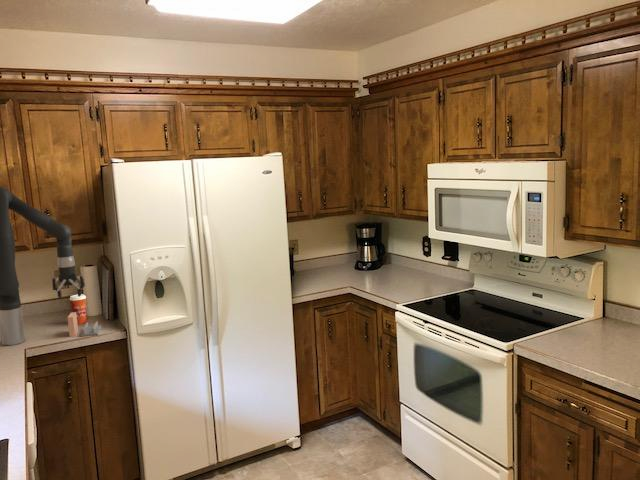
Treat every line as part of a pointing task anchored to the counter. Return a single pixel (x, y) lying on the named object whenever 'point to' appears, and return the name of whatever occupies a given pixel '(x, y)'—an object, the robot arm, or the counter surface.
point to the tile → (72, 324)
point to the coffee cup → (79, 307)
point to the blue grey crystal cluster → (90, 330)
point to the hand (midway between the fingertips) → (70, 297)
